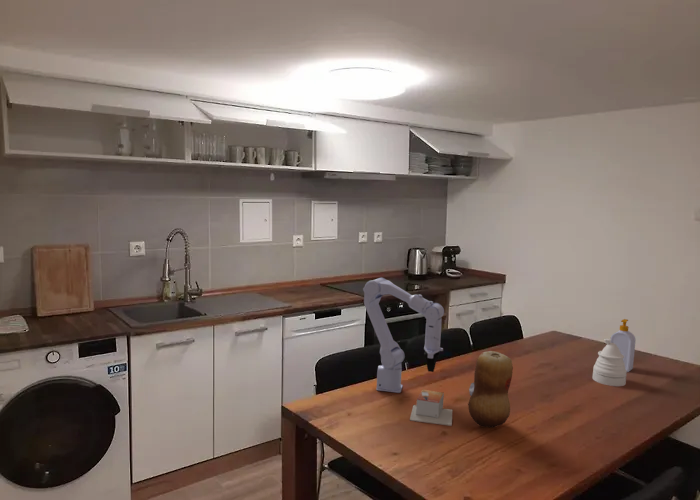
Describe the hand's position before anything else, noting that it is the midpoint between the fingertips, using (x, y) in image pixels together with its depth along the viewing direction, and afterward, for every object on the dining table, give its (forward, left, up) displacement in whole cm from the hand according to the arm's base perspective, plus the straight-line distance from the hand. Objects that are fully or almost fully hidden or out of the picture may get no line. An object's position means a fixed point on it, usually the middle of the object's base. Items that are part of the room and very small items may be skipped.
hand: (430, 371), depth 195 cm
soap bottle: (+84, +62, -11) cm, 105 cm away
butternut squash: (+21, -19, -11) cm, 30 cm away
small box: (+2, -8, -7) cm, 11 cm away
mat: (+2, -16, -10) cm, 19 cm away
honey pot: (+74, +42, -11) cm, 86 cm away
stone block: (+20, +9, -11) cm, 24 cm away
